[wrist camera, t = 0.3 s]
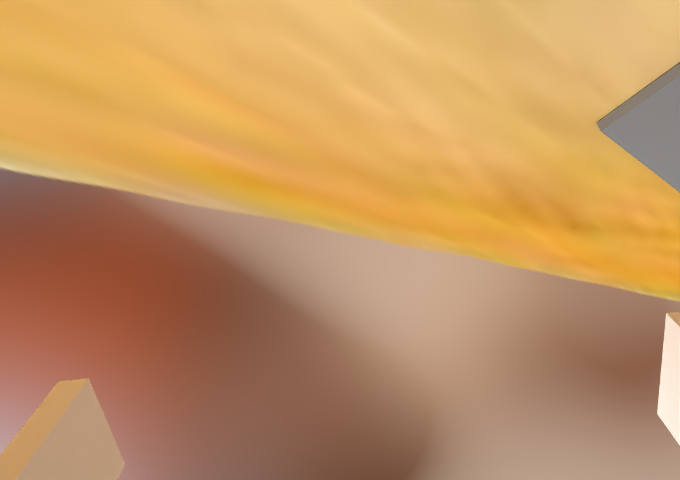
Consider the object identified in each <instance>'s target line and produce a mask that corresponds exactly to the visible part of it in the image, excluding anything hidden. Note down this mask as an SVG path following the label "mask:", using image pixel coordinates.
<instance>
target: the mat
mask: <svg viewBox="0 0 680 480" xmlns="http://www.w3.org/2000/svg"><path fill="white" fill-rule="evenodd" d="M597 125H598V127H599V128H600V130H601V132H603V133H604V134H605V135H607V136H608V137H609V138H610V139H612V140H613V141H614V142H616V143H617V144H618V145H619V146H621V147H622V148H623V149H625V150H626V151H627V152H628V153H630V154H631V155H632V156H634V157H635V158H636V159H637V160H639V161H640V162H641V163H643V164H644V165H645V166H646V167H648V168H649V169H650V170H652V171H653V172H654V173H655V174H657V175H658V176H659V177H661V178H662V179H663V180H664V181H666V182H667V183H668V184H670V185H671V186H672V187H673V188H675V189H676V190H677V191H679V192H680V63H679V64H677V65H676V66H674V67H673V68H672V69H670V70H669V71H668V72H666V73H665V74H663V75H662V76H661V77H659V78H658V79H656V80H655V81H654V82H652V83H651V84H650V85H648V86H647V87H645V88H644V89H643V90H641V91H640V92H638V93H637V94H636V95H634V96H633V97H631V98H630V99H629V100H627V101H626V102H625V103H623V104H622V105H620V106H619V107H618V108H616V109H615V110H613V111H612V112H611V113H609V114H608V115H607V116H605V117H604V118H602V119H601V120H600V121H598V122H597Z"/></svg>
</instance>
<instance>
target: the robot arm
mask: <svg viewBox="0 0 680 480" xmlns="http://www.w3.org/2000/svg"><path fill="white" fill-rule="evenodd" d="M657 414H658V415H659V417H660V418H661V420H662V421H663V422H664V424H665V425H666V427H667V428H668V429H669V431H670V432H671V434H672V435H673V436H674V438H675V439H676V441H677V442H678V443H679V445H680V312H672V313H666V322H665V334H664V345H663V357H662V367H661V378H660V389H659V402H658V412H657ZM124 466H125V463H124V461H123V458H122V456H121V453H120V451H119V449H118V446H117V444H116V442H115V439H114V437H113V435H112V432H111V430H110V427H109V425H108V423H107V420H106V418H105V416H104V413H103V411H102V409H101V406H100V404H99V402H98V399H97V397H96V394H95V392H94V390H93V388H92V385H91V383H90V380H89V379H88V378H86V379H77V380H70V381H69V380H68V381H60V382H58V383H57V384H56V385H55V387H54V388H53V389H52V390H51V392H50V393H49V394H48V395H47V397H46V398H45V399H44V401H43V402H42V403H41V404H40V406H39V407H38V408H37V409H36V411H35V412H34V413H33V414H32V416H31V417H30V418H29V420H28V421H27V422H26V423H25V425H24V426H23V427H22V428H21V429H20V431H19V432H18V433H17V435H16V436H15V437H14V438H13V440H12V441H11V442H10V443H9V445H8V446H7V447H6V448H5V450H4V451H3V452H2V453H1V455H0V480H118V478H119V475H120V474H121V472H122V470H123V468H124Z"/></svg>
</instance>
